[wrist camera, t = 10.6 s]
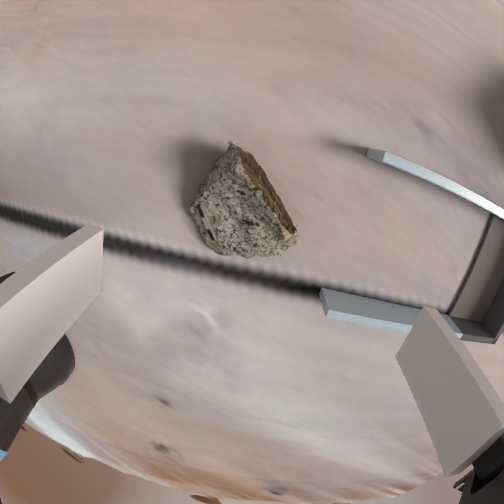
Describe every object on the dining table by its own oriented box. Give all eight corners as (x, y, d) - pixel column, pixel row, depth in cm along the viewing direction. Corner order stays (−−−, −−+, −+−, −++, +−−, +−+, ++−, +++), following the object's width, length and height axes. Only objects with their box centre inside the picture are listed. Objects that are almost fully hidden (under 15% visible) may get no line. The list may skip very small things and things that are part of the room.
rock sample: (141, 217, 23) (206, 217, 17) (188, 147, 25) (261, 127, 19) (220, 279, 30) (293, 296, 23) (253, 215, 32) (325, 217, 26)
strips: (318, 294, 29) (325, 317, 25) (368, 148, 24) (385, 151, 20) (444, 320, 30) (459, 339, 26) (494, 207, 24) (516, 217, 21)
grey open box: (444, 320, 30) (459, 339, 26) (494, 207, 24) (516, 217, 21) (480, 326, 30) (494, 344, 27) (526, 226, 25) (546, 237, 21)
